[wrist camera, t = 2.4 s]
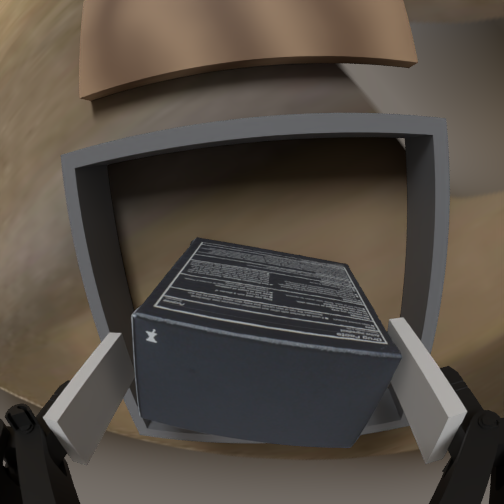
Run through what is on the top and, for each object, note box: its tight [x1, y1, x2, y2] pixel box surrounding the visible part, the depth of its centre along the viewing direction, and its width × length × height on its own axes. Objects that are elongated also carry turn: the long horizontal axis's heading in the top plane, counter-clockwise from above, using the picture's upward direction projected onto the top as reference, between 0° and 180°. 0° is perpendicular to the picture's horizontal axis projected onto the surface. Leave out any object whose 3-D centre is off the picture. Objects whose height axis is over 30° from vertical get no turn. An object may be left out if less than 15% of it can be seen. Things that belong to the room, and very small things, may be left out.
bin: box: [61, 113, 450, 443], centre depth 19 cm, size 22×22×4 cm
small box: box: [131, 237, 402, 448], centre depth 16 cm, size 11×6×10 cm, turn 81°
